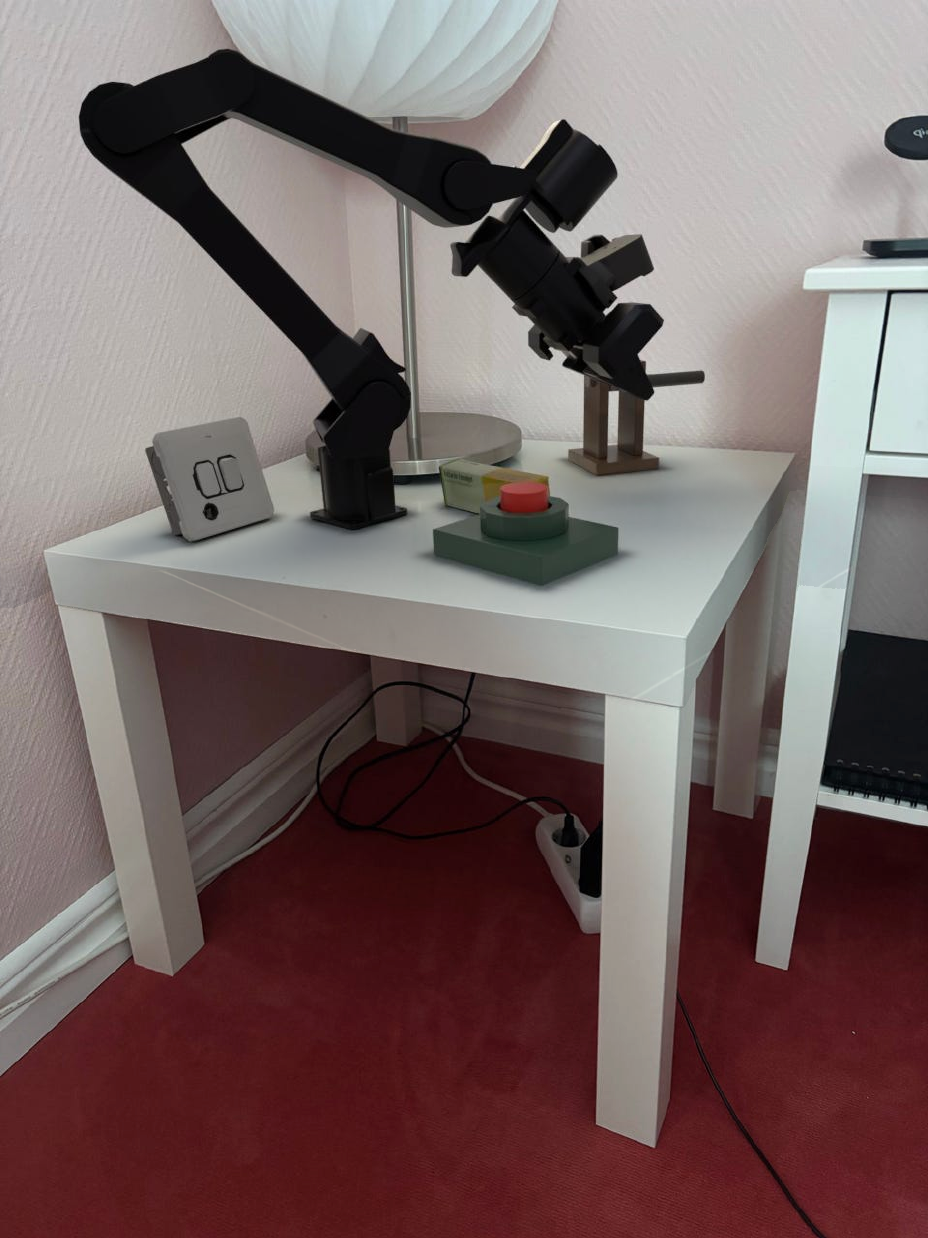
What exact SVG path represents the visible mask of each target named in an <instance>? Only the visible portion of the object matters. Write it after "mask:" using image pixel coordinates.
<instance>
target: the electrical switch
mask: <svg viewBox="0 0 928 1238" xmlns="http://www.w3.org/2000/svg"><path fill="white" fill-rule="evenodd" d="M151 443H152V446H148V447H145V449H144V452H145V454H146V457H147V461H148V464H149V466H150V469H151V472H152V475H153V478H154V481H155V484H156V487H157V490H158V493H159V496H160V499H161V502H162V505H163V508H164V512H165V514H166V517H167V520H168V523H169V526H170V529H171V531H172V535H173V536H175V535H176V536H177V535H182V537H183V538H184V539H186V540H187V541H188V542H196V541H199V540H203V539H206V538H208V537H212V536H216V535H219V534H221V533H224V532H229V531H231V530H235V529H238V528H241V527H244V526H248V525H251V524H255V523H258V522H261V521H264V520H267V519H270V518H272V517H273V515H274V512H275V508H274V507H275V506H274V505H273V500H272V498H271V497H272V496H271V494H270V491H269V488H268V485H267V482H266V478H265V475H264V472H263V469H262V465H261V462H260V458H259V455H258V452H257V449H256V446H255V444H254V443H255V442H254V439H253V436H252V433H251V430H250V427H249V423H248V421H247V420H246V419H245V418H243V417H242V416H237V417H230V418H226V419H221V420H215V421H212V422H211V421H210V422H206V423H199V424H195V425H190V426H185V427H181V428H176V429H175V428H174V429H170V430H165V431H160V432H157V433H155V434H154V435H153V438H152V441H151ZM168 488H169V490H168Z"/></svg>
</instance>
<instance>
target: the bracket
mask: <svg viewBox="0 0 928 1238" xmlns="http://www.w3.org/2000/svg"><path fill="white" fill-rule="evenodd" d="M640 361H641V363H642V365H643V368H644V370H645V372H646V373H647V361H646V360H643V359H640ZM609 401H610V391H609V386H608V385H606V384H603V383H601V382H599V381H596V380H594V379H592V378H589V377H587V376H584V375H583V420H582V421H583V427H582V428H583V432H582V435H583V436H582V439H583V440H582V447H579V448H578V447H577V448H568V449H567V456H568V457H567V459H568V461H569V462H571V463H573V464H574V465H577V466H579V467H581V468H583V469H584V470H586V471H587V472H589V473H591V474H593V475H595V476H606V475H615V474H624V473H634V472H643V471H652V470H659V468H660V457H658V456H657V455H654V454H652V453H649V452H647V451H645V450H644V432H645V431H644V429H645V427H644V426H645V403H646V400H643V399H641V398H636V397H634V396H632V395H629V394H627V393H625V392H622V391H618V402H617V403H618V404H617V405H618V406H617V407H618V408H617V441H616V442H617V443H616V444H610V445H609V407H610V406H609V404H610V402H609Z"/></svg>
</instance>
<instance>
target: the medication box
mask: <svg viewBox="0 0 928 1238" xmlns="http://www.w3.org/2000/svg"><path fill="white" fill-rule="evenodd" d="M438 473H439V479H440V485H441V491H442V496H443V501H444V502H443V503H444V506H445V507H451V508H455V509H458V510H459V509H460V510H463V511H468V512H472V513H475V514H478V515H479V514H480V507H481V506H482V504H483V503H484V502H485V501H487V500H491V499H494V498H497V497H500V488H501V486H503V485H506V484H509V483H515V482H537V483H542V484H545V485H547V486H548V496H551V489H550V480H549V479H550V478H549V476H548V475H543V474H537V473H532V472H528V471H521V470H516V469H511V468H506V467H502V466H501V467H500V466H495V465H490V464H486V463H480V462H475V461H469V460H465V459H460V458H456V459H454V460H450V461H448V462H445V463H443V464H441V465H439V466H438Z"/></svg>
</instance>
